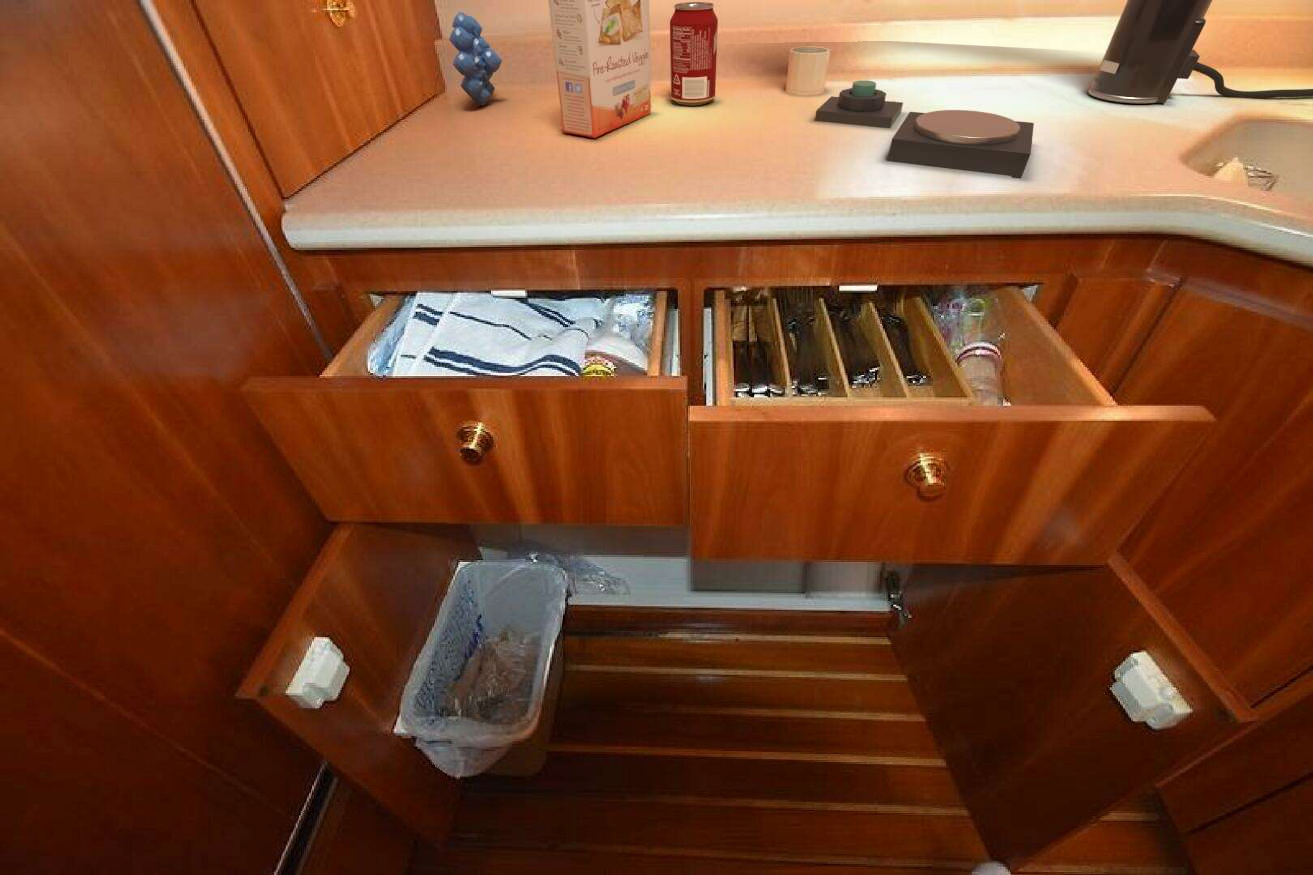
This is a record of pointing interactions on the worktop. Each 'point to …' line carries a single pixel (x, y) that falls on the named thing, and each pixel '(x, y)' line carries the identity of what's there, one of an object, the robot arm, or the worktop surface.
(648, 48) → the cracker box
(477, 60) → the grapes
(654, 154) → the worktop surface
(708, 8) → the soda can
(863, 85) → the button
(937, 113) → the scale
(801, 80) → the cup
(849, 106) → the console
